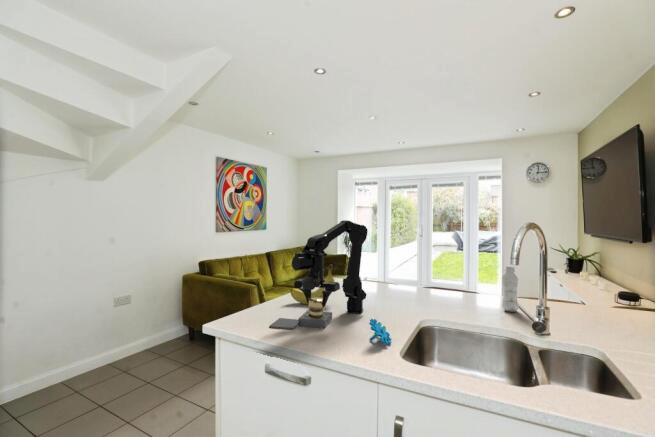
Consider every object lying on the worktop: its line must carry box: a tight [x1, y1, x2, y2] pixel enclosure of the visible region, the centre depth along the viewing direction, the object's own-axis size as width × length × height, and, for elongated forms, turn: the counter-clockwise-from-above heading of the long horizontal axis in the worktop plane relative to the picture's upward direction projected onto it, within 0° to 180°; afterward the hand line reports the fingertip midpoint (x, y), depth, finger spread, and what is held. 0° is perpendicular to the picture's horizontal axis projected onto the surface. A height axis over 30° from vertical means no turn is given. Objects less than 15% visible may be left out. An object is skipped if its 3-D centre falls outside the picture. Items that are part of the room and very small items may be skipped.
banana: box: [290, 263, 336, 305], centre depth 155 cm, size 23×6×20 cm, turn 81°
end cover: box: [308, 298, 325, 318], centre depth 127 cm, size 6×6×7 cm
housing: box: [297, 309, 333, 329], centre depth 127 cm, size 11×11×3 cm
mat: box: [268, 317, 299, 331], centre depth 125 cm, size 10×10×1 cm
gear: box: [368, 318, 393, 345], centre depth 108 cm, size 11×6×10 cm
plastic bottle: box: [501, 266, 519, 313], centre depth 142 cm, size 6×7×20 cm
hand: (316, 306), depth 127 cm, fingers closed on end cover, 6 cm apart
